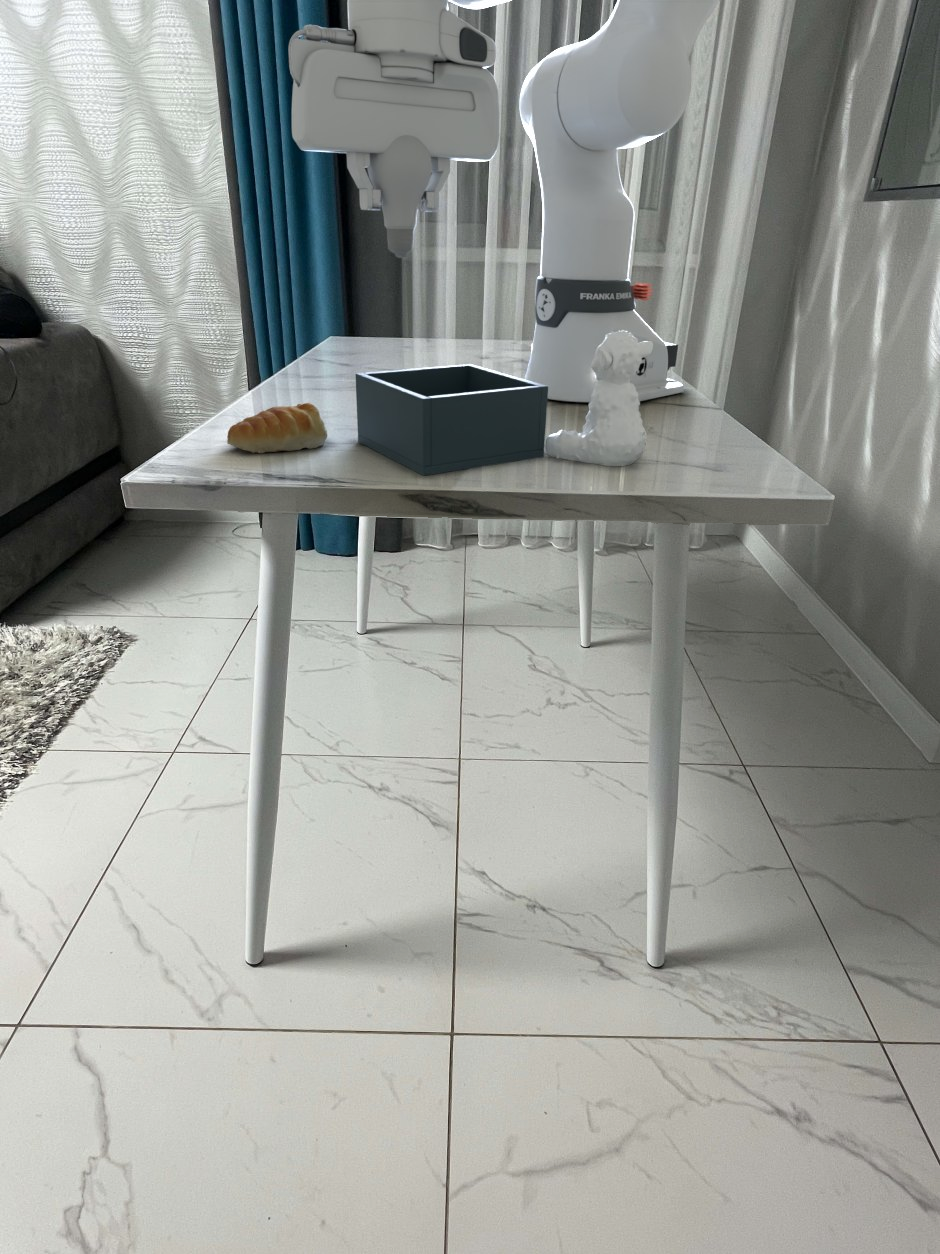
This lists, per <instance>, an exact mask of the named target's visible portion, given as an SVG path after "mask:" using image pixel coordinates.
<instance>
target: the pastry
mask: <svg viewBox="0 0 940 1254" xmlns="http://www.w3.org/2000/svg"><path fill="white" fill-rule="evenodd" d="M226 439H227V440H226V441H227V442H226V443H227V445H229V446H232V447H234V448H238V449H240V450H243V451H248V452H251V454H254V453H258V454H264V453H267V452H270V453H271V452H273V453H277V452H281V451H283V452H284V451H286V452H290V451H291V452H292V451H300V450H302V449H304V448H307V449H308V450H309V449H316V448H319V447H321V446H323V445H325V441H326V440H327V439H328V431H327V428H326V425H325V422H324V420H323V419H322V417H321V414H320V411H319V409H318V408H317V407H316V406H315V405H314V404H312V403H311V402H307V403H298V404H296V405H295V406H292V405H288V406H287V405H285V406H284V405H282V406H272V407H270V408H267V409H266V410H262V411H260V412H258V413H257V414H255V415H252V416H248V417H245V418H244V419H243V420H241V421H238V422H236V423H235V424H232V425H231V426H230V428H229V429H228V431H227V438H226Z"/></svg>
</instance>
